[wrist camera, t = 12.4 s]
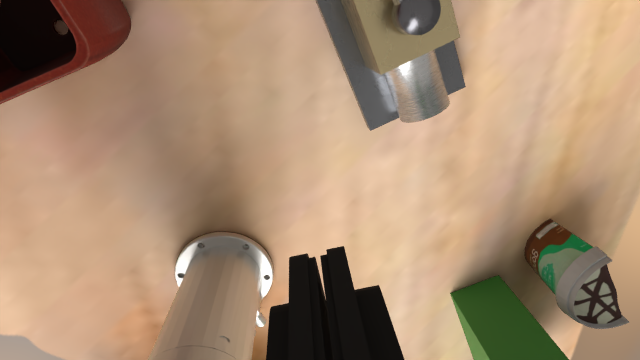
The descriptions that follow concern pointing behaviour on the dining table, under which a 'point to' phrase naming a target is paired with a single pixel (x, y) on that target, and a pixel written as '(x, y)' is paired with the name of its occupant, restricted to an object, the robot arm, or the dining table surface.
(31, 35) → the plant pot
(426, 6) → the valve lever
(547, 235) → the food container
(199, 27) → the dining table surface
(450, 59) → the valve body
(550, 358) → the green cereal box
